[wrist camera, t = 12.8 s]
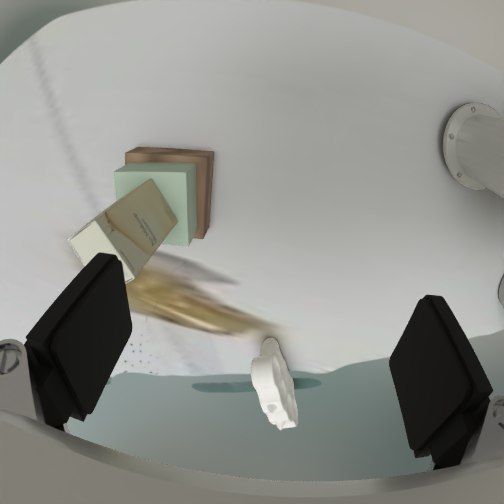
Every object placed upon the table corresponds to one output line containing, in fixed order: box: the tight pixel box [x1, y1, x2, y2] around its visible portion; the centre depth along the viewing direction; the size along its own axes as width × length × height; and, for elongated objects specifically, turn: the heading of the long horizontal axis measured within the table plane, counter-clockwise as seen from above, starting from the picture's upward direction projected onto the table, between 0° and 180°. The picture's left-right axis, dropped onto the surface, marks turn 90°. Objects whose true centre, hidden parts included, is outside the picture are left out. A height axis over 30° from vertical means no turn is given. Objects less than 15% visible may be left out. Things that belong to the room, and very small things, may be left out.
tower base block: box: [125, 147, 214, 239], centre depth 41 cm, size 11×11×4 cm
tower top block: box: [114, 162, 197, 246], centre depth 37 cm, size 9×9×4 cm
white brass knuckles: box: [251, 337, 298, 430], centre depth 51 cm, size 3×18×15 cm, turn 19°
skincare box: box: [68, 179, 178, 284], centre depth 30 cm, size 6×4×12 cm
